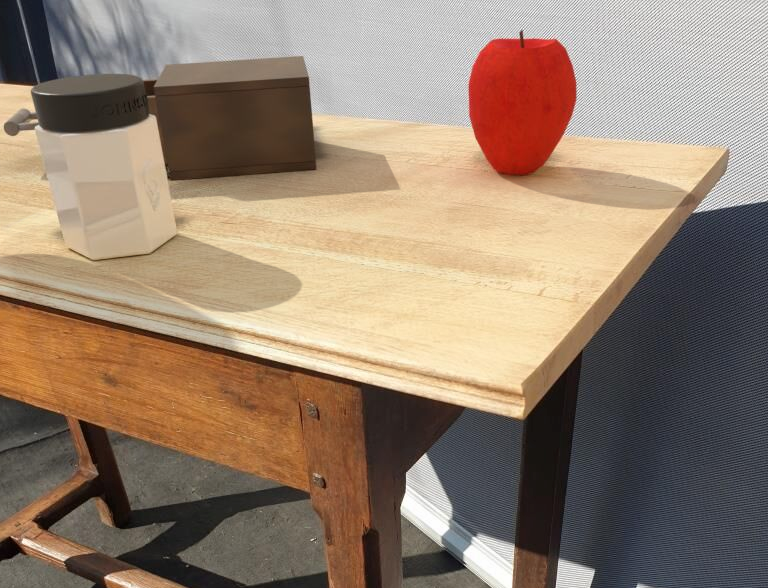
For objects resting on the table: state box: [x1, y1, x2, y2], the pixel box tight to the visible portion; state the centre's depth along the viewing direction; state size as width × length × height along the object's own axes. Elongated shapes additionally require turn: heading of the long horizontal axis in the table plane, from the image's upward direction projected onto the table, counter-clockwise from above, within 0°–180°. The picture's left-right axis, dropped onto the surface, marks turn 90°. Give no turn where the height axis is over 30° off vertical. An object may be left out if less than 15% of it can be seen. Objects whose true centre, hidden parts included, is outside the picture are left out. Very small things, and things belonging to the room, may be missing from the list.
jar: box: [30, 73, 178, 261], centre depth 65 cm, size 9×8×12 cm
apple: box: [467, 29, 578, 176], centre depth 77 cm, size 10×10×12 cm
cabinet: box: [153, 55, 317, 181], centre depth 86 cm, size 15×13×9 cm
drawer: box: [3, 78, 168, 166], centre depth 85 cm, size 19×11×7 cm, turn 97°
